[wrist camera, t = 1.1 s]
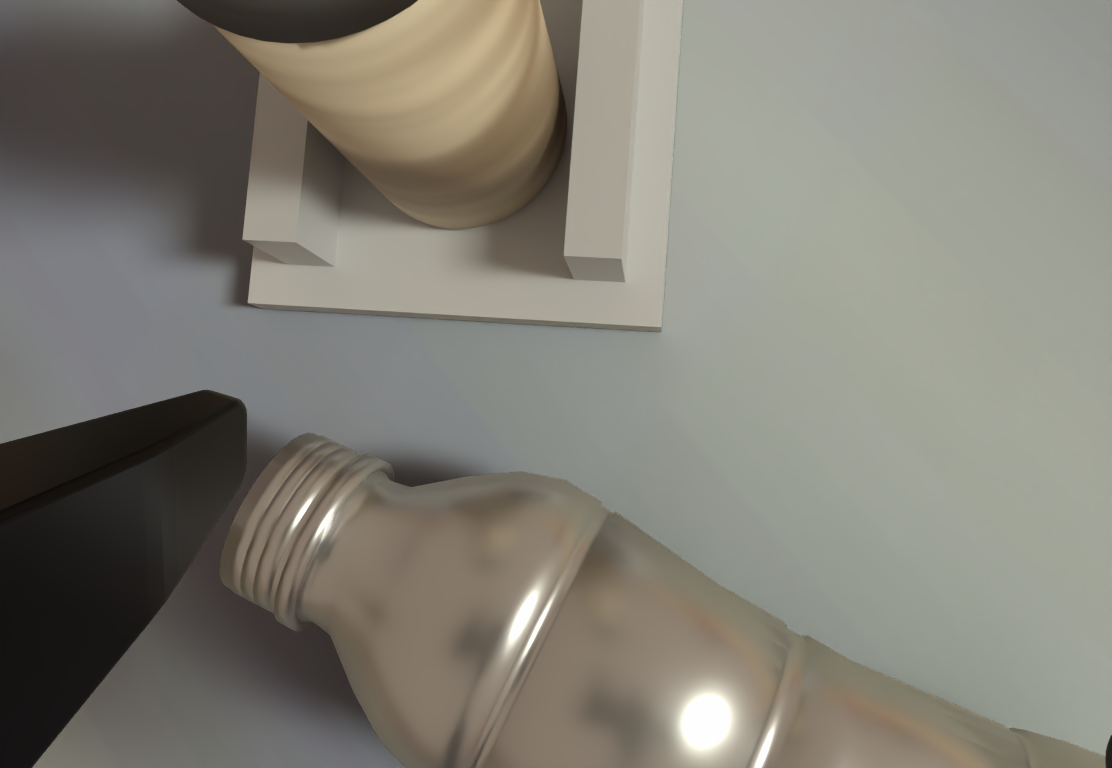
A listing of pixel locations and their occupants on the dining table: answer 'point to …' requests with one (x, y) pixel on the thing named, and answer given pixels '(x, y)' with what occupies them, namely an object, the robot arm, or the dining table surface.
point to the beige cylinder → (416, 93)
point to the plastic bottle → (566, 634)
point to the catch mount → (509, 244)
